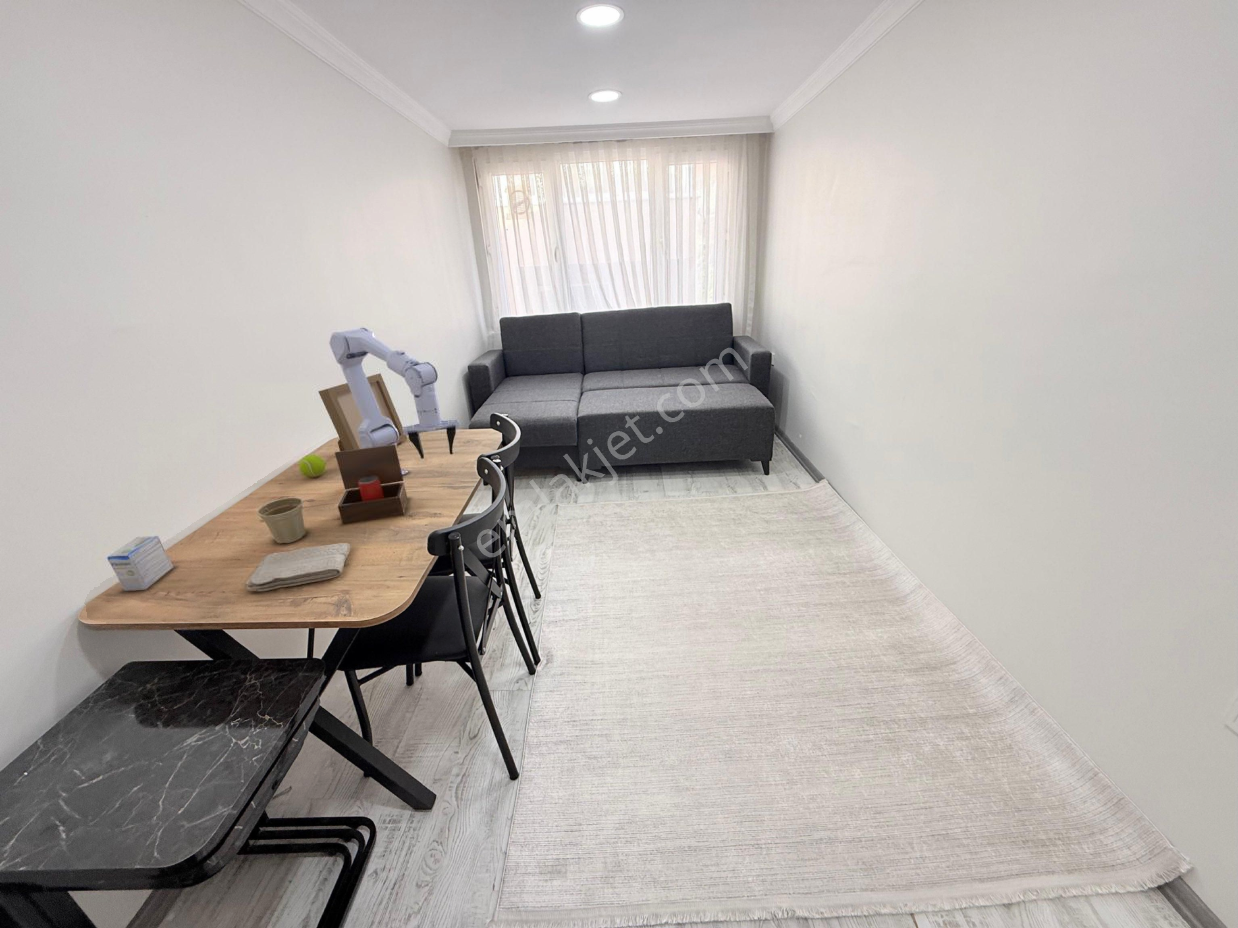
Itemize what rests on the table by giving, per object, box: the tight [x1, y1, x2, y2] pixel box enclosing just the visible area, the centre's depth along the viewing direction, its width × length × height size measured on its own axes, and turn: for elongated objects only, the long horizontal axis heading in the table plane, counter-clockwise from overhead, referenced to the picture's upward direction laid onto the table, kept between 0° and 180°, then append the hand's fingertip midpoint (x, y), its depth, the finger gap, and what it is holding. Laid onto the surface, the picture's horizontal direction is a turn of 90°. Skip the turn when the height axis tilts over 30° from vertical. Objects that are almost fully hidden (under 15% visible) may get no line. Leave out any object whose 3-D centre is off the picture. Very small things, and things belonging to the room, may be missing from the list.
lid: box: [334, 445, 404, 490], centre depth 131 cm, size 10×15×1 cm
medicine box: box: [106, 535, 174, 592], centre depth 105 cm, size 8×4×9 cm, turn 5°
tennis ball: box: [298, 454, 327, 478], centre depth 153 cm, size 7×7×7 cm
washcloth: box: [245, 542, 352, 592], centre depth 107 cm, size 12×18×3 cm, turn 107°
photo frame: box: [318, 373, 408, 452], centre depth 169 cm, size 15×22×25 cm
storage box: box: [337, 481, 409, 526], centre depth 130 cm, size 10×15×5 cm, turn 106°
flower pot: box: [256, 496, 306, 544], centre depth 119 cm, size 9×9×9 cm
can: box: [357, 475, 384, 501], centre depth 129 cm, size 5×5×9 cm
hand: (437, 455), depth 139 cm, fingers open, 7 cm apart
